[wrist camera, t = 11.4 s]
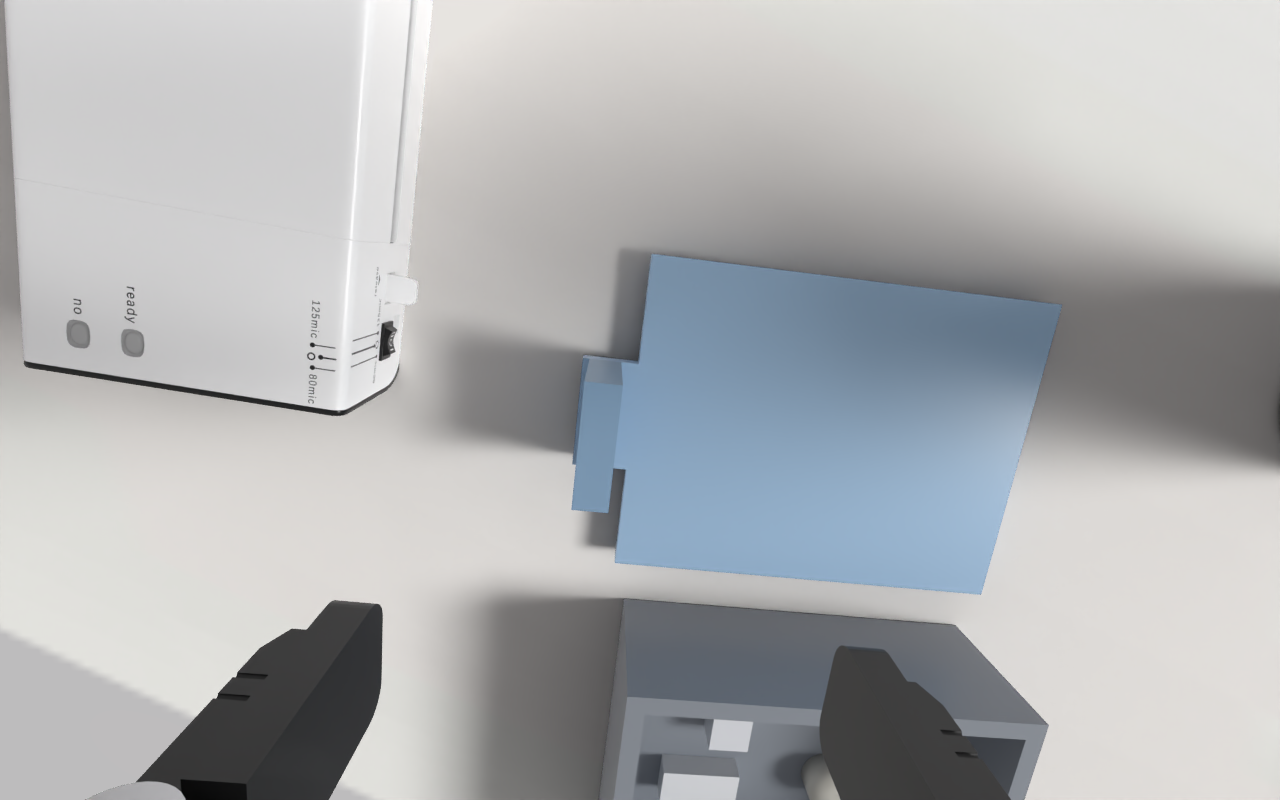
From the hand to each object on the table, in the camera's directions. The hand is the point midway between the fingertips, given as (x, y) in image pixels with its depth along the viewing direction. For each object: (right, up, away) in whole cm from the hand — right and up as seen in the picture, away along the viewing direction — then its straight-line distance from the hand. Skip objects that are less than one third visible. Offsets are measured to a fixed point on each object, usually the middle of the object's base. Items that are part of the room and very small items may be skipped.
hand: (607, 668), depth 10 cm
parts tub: (+8, -13, +22) cm, 27 cm away
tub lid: (+8, +3, +19) cm, 21 cm away
